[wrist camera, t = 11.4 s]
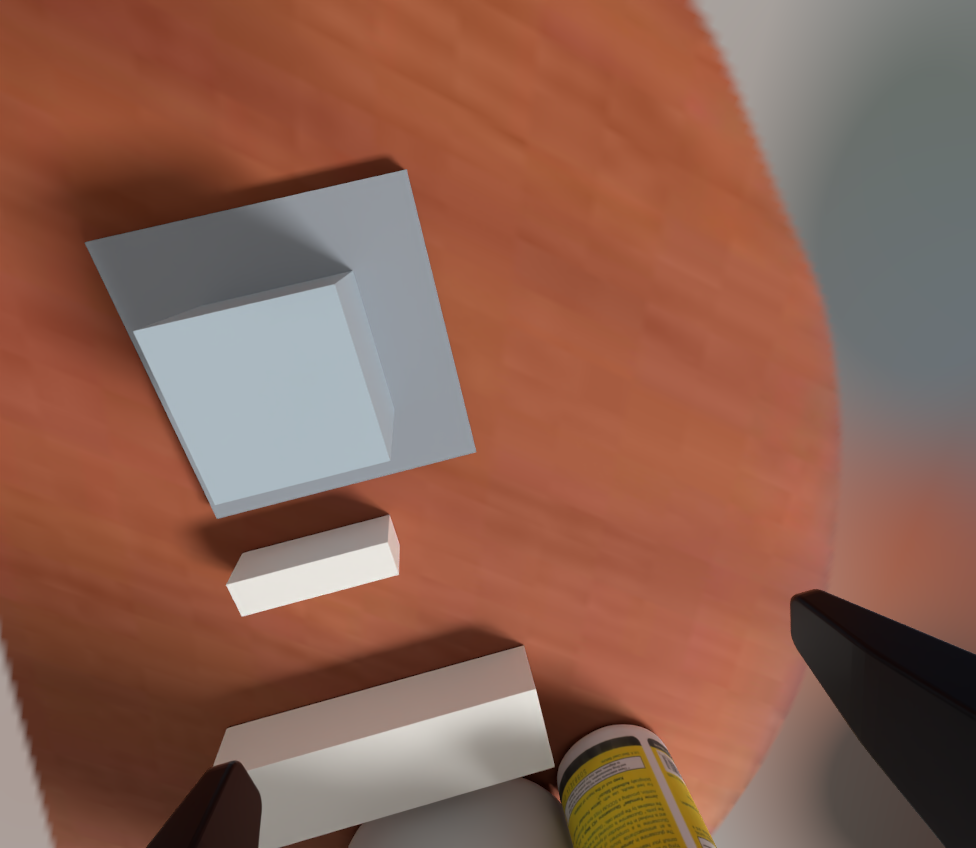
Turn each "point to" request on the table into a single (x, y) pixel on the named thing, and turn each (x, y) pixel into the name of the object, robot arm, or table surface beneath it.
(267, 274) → the mat
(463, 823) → the cylinder vase
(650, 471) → the table surface
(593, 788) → the pill bottle
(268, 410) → the pale blue cube
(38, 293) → the table surface
